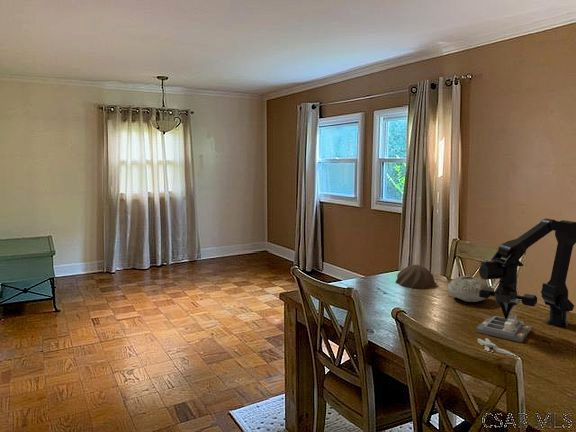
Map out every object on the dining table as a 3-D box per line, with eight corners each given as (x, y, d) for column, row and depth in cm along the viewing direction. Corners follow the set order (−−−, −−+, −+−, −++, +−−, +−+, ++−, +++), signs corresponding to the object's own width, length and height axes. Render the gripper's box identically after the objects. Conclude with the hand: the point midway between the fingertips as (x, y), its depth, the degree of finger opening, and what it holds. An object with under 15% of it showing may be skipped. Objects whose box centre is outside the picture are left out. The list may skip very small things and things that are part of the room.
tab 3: (507, 326, 160) (508, 317, 160) (516, 328, 158) (517, 319, 158) (505, 328, 158) (505, 319, 157) (514, 330, 156) (515, 321, 155)
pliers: (491, 357, 136) (468, 338, 150) (490, 362, 136) (468, 343, 151) (521, 356, 136) (495, 337, 151) (521, 361, 136) (495, 342, 151)
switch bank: (487, 321, 170) (487, 314, 170) (530, 330, 160) (530, 323, 160) (475, 332, 159) (476, 325, 159) (521, 342, 149) (521, 335, 149)
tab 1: (504, 330, 157) (504, 320, 156) (513, 332, 155) (514, 322, 154) (502, 332, 154) (502, 323, 154) (511, 334, 152) (511, 325, 152)
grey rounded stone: (499, 302, 192) (500, 280, 191) (470, 308, 185) (471, 285, 183) (466, 291, 208) (467, 271, 207) (438, 297, 201) (439, 276, 199)
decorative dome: (438, 281, 228) (438, 262, 227) (430, 291, 211) (431, 270, 210) (401, 277, 238) (401, 259, 236) (391, 286, 220) (391, 266, 219)
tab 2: (509, 322, 164) (509, 313, 163) (517, 324, 162) (518, 315, 161) (506, 324, 161) (507, 315, 161) (515, 326, 160) (516, 317, 159)
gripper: (475, 278, 161) (473, 319, 163) (531, 287, 149) (529, 330, 151) (484, 272, 169) (482, 311, 171) (538, 280, 157) (536, 321, 159)
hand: (506, 318), depth 163 cm, fingers closed
